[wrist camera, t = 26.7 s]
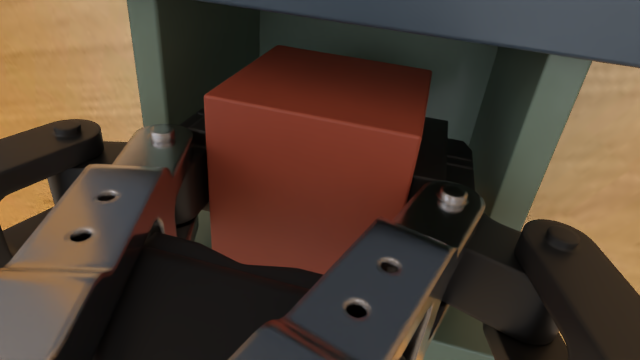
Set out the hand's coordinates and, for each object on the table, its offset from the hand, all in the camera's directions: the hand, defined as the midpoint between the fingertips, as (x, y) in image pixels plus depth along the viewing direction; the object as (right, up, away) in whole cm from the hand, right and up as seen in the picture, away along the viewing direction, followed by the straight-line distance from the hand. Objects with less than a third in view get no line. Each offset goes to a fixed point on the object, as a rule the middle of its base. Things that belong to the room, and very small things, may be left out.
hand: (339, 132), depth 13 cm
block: (0, 0, 0) cm, 0 cm away
